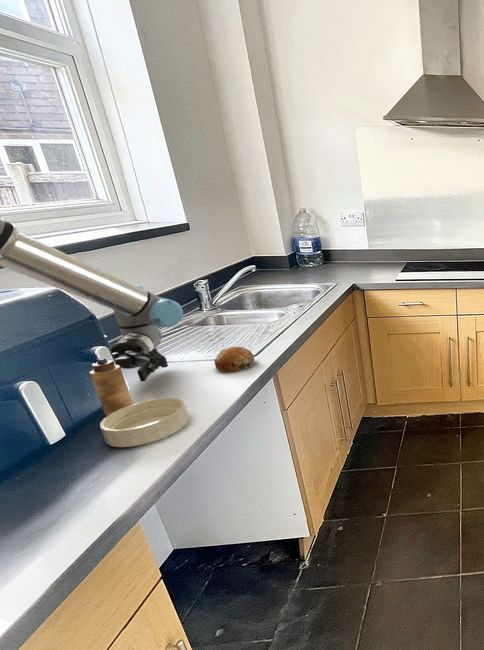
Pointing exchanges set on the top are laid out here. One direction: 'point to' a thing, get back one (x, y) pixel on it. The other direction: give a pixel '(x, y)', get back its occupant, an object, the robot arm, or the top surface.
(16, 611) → the top surface
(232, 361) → the bread roll
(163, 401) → the bowl
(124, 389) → the pepper mill
